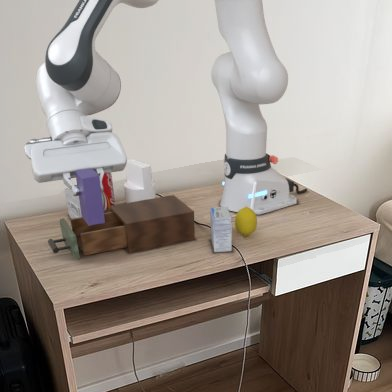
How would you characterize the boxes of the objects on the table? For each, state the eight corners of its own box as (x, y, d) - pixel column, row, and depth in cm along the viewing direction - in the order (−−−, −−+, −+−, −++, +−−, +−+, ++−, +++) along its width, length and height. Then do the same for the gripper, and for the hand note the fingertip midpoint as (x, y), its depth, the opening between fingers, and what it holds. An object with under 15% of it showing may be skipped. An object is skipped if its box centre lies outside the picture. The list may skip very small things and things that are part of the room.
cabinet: (129, 253, 132) (126, 223, 128) (113, 233, 143) (109, 205, 138) (195, 240, 138) (194, 211, 134) (174, 222, 148) (173, 194, 144)
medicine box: (231, 252, 132) (232, 217, 127) (213, 253, 131) (213, 218, 126) (227, 239, 138) (228, 205, 133) (210, 239, 138) (210, 206, 133)
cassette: (89, 227, 147) (85, 199, 142) (83, 228, 146) (79, 200, 142) (73, 213, 155) (68, 187, 151) (67, 215, 154) (62, 188, 150)
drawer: (57, 263, 127) (52, 240, 123) (46, 243, 136) (42, 221, 133) (140, 246, 133) (138, 224, 130) (125, 229, 143) (123, 207, 139)
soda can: (111, 213, 154) (105, 171, 148) (87, 212, 156) (81, 170, 149) (118, 205, 160) (114, 163, 153) (96, 204, 161) (90, 163, 155)
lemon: (255, 241, 136) (256, 211, 131) (233, 240, 137) (233, 210, 132) (257, 233, 141) (258, 203, 136) (235, 232, 141) (236, 202, 137)
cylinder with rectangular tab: (162, 204, 159) (160, 163, 153) (137, 212, 155) (133, 170, 148) (144, 197, 165) (141, 157, 158) (120, 204, 160) (115, 163, 154)
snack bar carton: (97, 213, 120) (91, 168, 115) (105, 222, 116) (99, 176, 110) (81, 216, 119) (75, 170, 113) (88, 225, 115) (82, 178, 109)
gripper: (21, 131, 111) (39, 193, 109) (117, 120, 117) (136, 178, 115) (22, 149, 117) (39, 207, 115) (113, 137, 123) (131, 192, 121)
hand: (88, 192), depth 115 cm, fingers closed on snack bar carton, 3 cm apart
